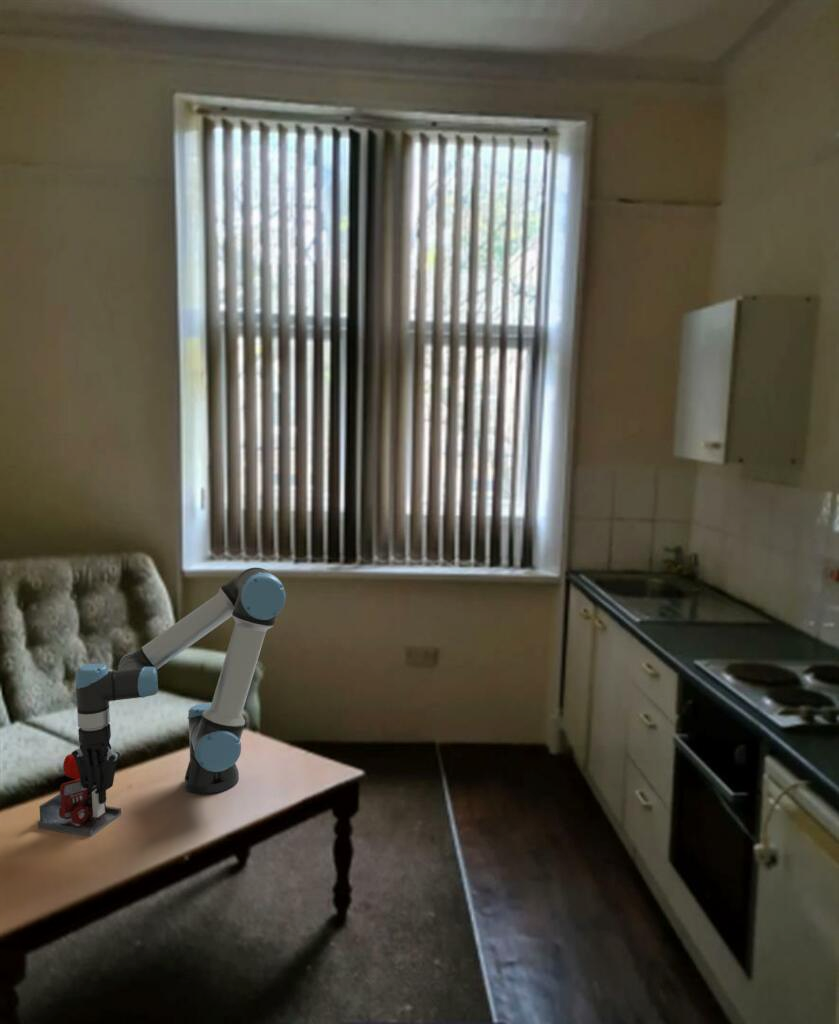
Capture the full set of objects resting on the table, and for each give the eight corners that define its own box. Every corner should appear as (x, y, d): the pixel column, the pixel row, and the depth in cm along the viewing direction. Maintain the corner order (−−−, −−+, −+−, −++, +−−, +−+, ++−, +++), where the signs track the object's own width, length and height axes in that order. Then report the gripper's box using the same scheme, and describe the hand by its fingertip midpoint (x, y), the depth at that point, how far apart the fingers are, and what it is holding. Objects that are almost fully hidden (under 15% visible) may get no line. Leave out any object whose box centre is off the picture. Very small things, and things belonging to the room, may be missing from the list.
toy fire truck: (112, 813, 198) (113, 773, 198) (68, 828, 187) (69, 786, 187) (96, 807, 201) (98, 768, 202) (52, 822, 191) (53, 781, 191)
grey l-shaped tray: (121, 814, 198) (120, 794, 198) (90, 836, 187) (89, 815, 187) (70, 807, 203) (69, 787, 202) (38, 828, 192) (36, 807, 191)
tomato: (76, 785, 216) (75, 760, 215) (58, 779, 221) (56, 754, 220) (105, 773, 224) (104, 749, 223) (86, 767, 229) (85, 743, 228)
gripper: (125, 722, 193) (130, 810, 195) (83, 718, 196) (88, 804, 198) (105, 733, 186) (110, 824, 188) (62, 728, 189) (67, 818, 191)
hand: (99, 814), depth 193 cm, fingers closed
